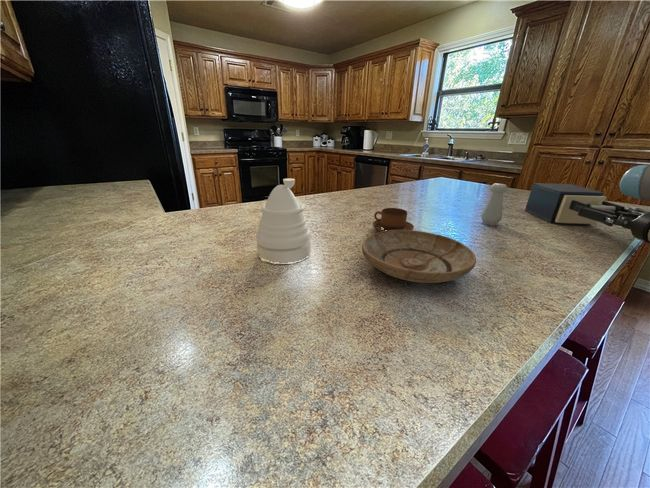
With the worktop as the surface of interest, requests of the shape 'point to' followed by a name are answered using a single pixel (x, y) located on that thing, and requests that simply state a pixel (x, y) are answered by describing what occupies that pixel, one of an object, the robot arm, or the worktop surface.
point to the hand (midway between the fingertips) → (586, 205)
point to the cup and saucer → (392, 220)
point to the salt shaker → (494, 205)
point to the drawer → (571, 216)
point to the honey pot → (283, 227)
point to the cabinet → (552, 199)
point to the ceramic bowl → (418, 256)
